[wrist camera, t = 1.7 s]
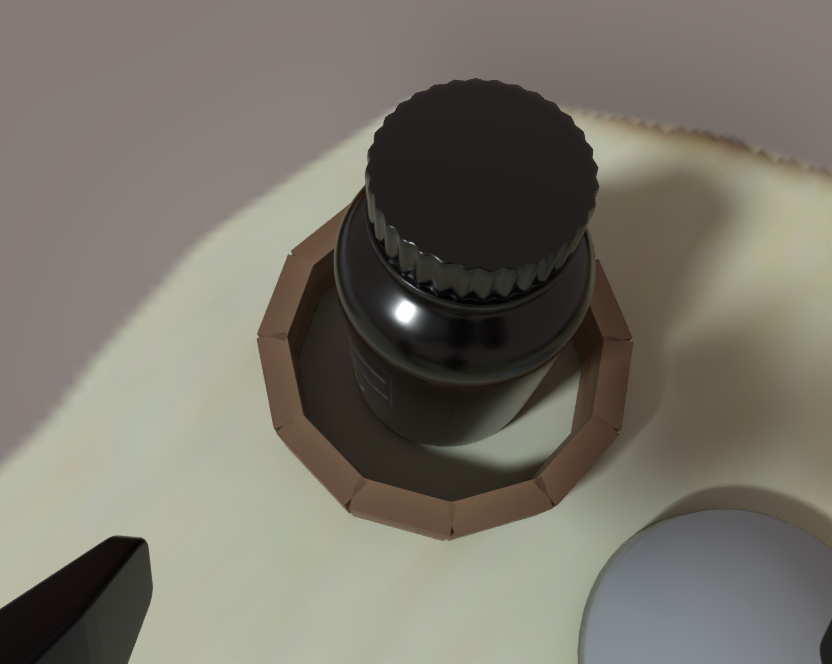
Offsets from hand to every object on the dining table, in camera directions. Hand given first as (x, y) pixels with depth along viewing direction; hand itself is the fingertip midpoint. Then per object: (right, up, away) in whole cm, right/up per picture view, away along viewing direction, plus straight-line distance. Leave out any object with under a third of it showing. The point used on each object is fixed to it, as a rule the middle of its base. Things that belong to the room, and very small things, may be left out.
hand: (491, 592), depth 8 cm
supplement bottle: (0, +2, +16) cm, 16 cm away
